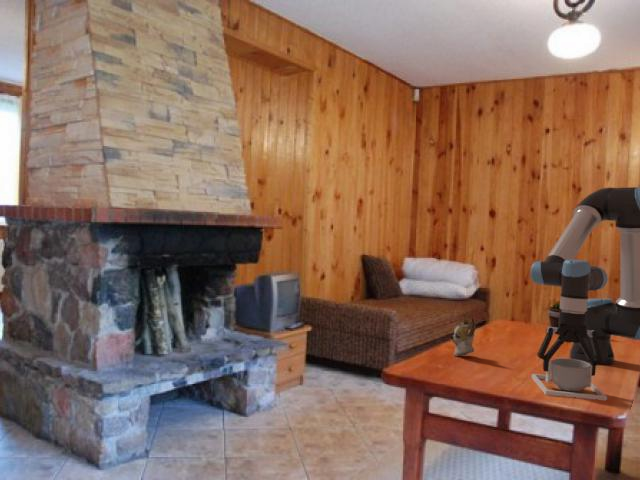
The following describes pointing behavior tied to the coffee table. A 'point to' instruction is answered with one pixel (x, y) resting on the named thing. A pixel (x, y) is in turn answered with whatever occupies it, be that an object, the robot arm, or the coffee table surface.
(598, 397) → the grey square frame
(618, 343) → the coffee table surface
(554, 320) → the flowerpot
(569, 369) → the teacup
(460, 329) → the ceramic sculpture
